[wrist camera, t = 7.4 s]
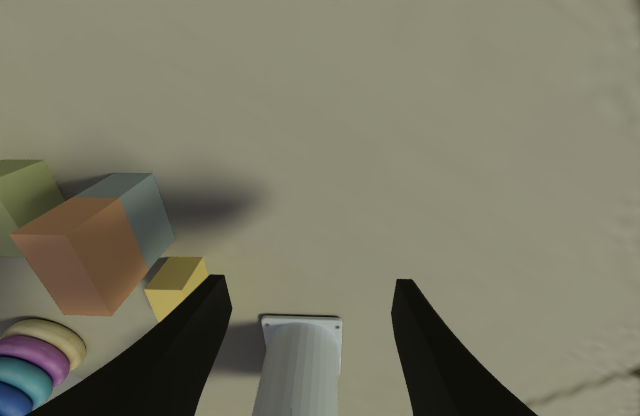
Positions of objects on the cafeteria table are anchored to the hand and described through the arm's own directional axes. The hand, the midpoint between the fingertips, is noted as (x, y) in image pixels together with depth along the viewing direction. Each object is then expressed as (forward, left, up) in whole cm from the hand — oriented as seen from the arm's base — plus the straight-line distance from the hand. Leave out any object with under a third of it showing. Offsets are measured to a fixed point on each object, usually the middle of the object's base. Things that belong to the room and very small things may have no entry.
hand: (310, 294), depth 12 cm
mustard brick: (-10, +12, -11) cm, 19 cm away
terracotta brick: (-2, +14, -6) cm, 15 cm away
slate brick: (-2, +14, -10) cm, 18 cm away
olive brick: (-1, +22, -11) cm, 24 cm away
